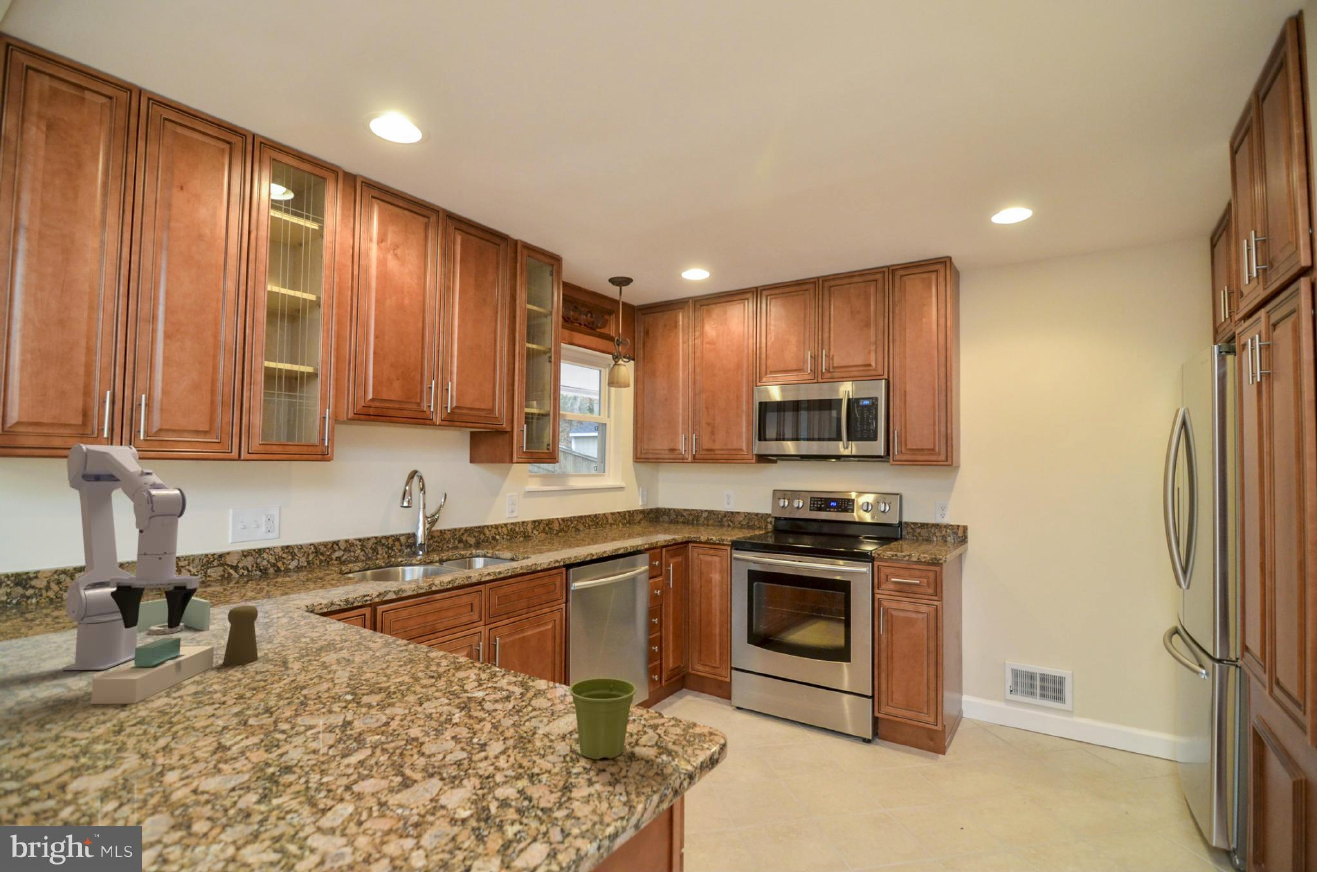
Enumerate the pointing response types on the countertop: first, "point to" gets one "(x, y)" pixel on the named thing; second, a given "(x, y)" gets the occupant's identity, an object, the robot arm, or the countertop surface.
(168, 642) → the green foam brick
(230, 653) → the cork
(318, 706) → the countertop surface
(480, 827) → the countertop surface
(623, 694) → the plant pot
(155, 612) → the right angle wall
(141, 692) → the rail
